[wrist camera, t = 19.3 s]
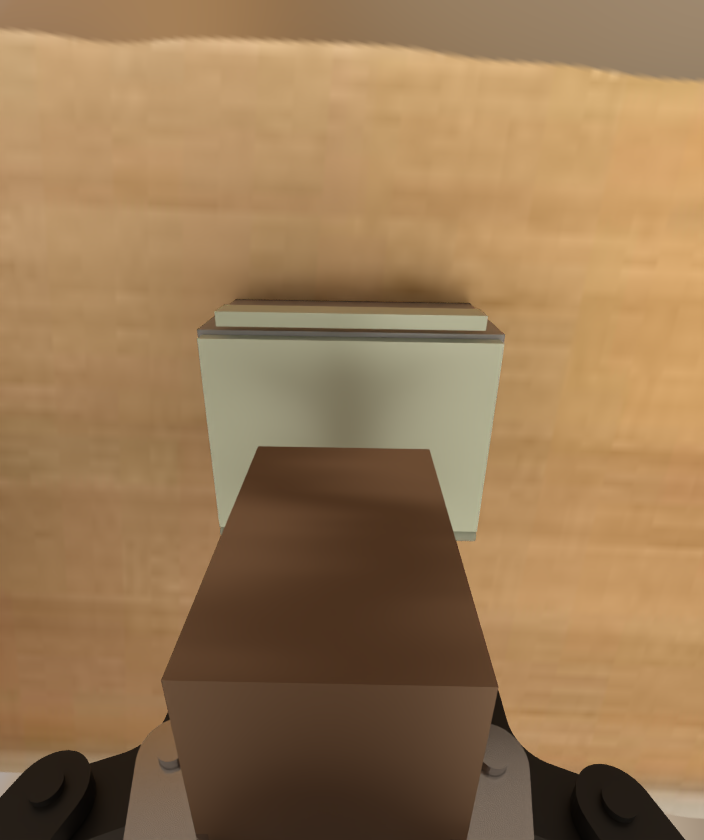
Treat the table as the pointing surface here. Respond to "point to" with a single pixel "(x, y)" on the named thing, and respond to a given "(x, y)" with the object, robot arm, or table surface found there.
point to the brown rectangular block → (333, 658)
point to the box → (212, 329)
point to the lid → (353, 393)
